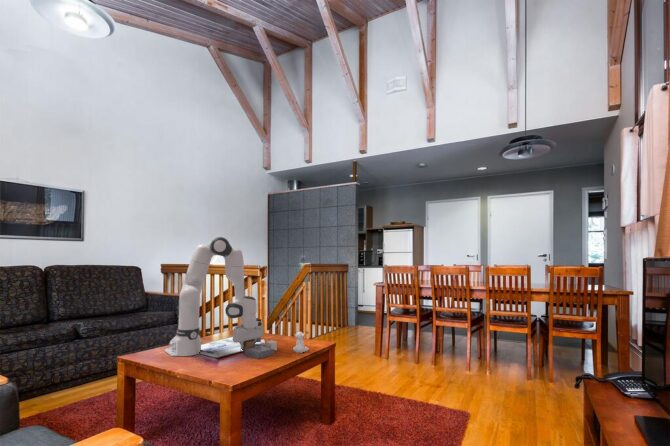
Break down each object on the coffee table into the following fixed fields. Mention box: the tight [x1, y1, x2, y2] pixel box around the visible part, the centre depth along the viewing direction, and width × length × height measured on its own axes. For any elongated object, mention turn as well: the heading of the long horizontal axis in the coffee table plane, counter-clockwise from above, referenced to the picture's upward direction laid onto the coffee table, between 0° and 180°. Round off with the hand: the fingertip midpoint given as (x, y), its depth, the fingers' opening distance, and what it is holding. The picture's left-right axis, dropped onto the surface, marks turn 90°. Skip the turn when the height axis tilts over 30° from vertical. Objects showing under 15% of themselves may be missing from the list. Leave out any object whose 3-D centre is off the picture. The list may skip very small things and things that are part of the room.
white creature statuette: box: [292, 331, 310, 354], centre depth 223 cm, size 10×9×12 cm
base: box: [244, 345, 276, 360], centre depth 215 cm, size 12×12×3 cm
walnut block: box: [241, 340, 256, 353], centre depth 222 cm, size 6×6×6 cm
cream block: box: [264, 339, 278, 351], centre depth 226 cm, size 5×5×5 cm
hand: (247, 347), depth 222 cm, fingers closed on walnut block, 6 cm apart
